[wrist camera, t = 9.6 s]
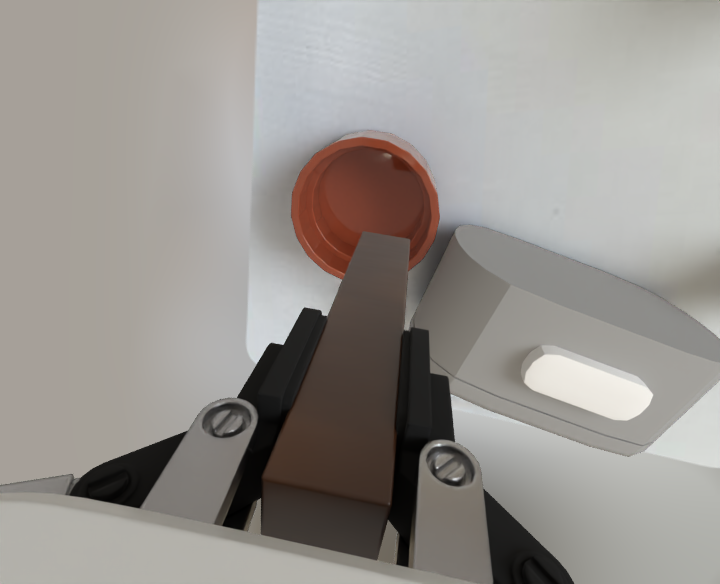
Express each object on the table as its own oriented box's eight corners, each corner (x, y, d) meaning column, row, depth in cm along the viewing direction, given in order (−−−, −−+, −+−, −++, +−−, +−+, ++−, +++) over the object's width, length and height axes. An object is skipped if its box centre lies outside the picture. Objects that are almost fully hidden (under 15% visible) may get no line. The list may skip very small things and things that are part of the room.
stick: (356, 273, 20) (259, 552, 8) (362, 230, 19) (259, 477, 7) (401, 281, 20) (373, 578, 8) (410, 238, 19) (392, 505, 7)
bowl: (305, 247, 37) (288, 270, 32) (313, 120, 32) (294, 126, 27) (421, 267, 37) (421, 294, 32) (449, 141, 31) (455, 151, 26)
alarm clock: (407, 299, 38) (402, 393, 27) (449, 210, 34) (465, 276, 22) (599, 370, 39) (676, 491, 27) (664, 292, 35) (791, 398, 23)
